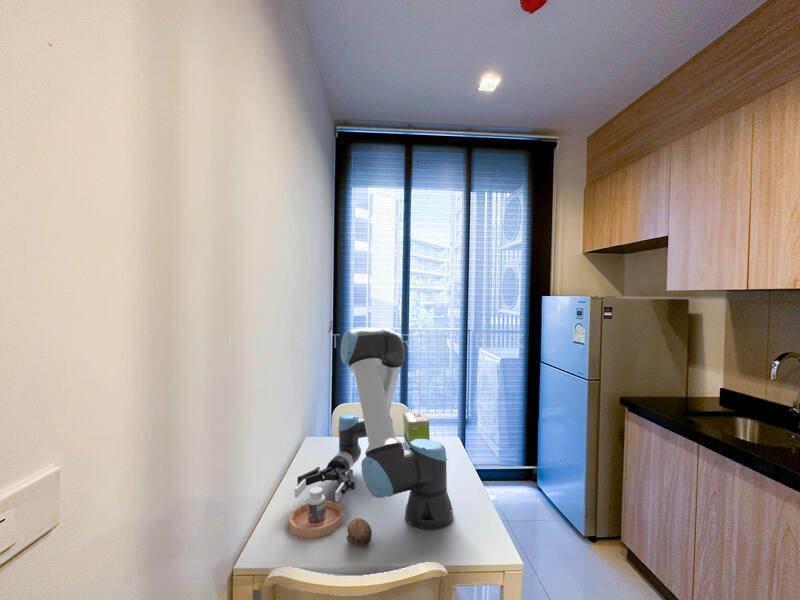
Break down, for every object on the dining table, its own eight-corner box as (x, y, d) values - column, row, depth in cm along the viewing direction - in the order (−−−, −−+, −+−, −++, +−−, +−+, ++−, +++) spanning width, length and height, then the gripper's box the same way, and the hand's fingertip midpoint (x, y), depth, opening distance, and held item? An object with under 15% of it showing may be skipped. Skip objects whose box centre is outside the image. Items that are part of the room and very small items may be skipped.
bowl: (351, 524, 113) (351, 516, 114) (301, 544, 104) (301, 536, 104) (329, 502, 126) (329, 495, 127) (282, 518, 117) (282, 511, 117)
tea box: (403, 442, 182) (402, 412, 182) (423, 440, 183) (422, 410, 183) (408, 454, 167) (408, 421, 167) (430, 452, 168) (429, 419, 168)
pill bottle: (304, 522, 114) (303, 490, 114) (318, 514, 118) (318, 483, 118) (314, 528, 111) (314, 496, 111) (329, 520, 115) (328, 489, 115)
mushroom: (335, 531, 105) (348, 514, 105) (353, 529, 111) (365, 512, 111) (350, 557, 99) (364, 538, 99) (368, 552, 106) (381, 535, 106)
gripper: (372, 478, 134) (353, 510, 113) (308, 473, 139) (279, 503, 118) (372, 457, 134) (353, 485, 113) (308, 453, 139) (279, 480, 118)
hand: (315, 495), depth 115 cm, fingers open, 13 cm apart
